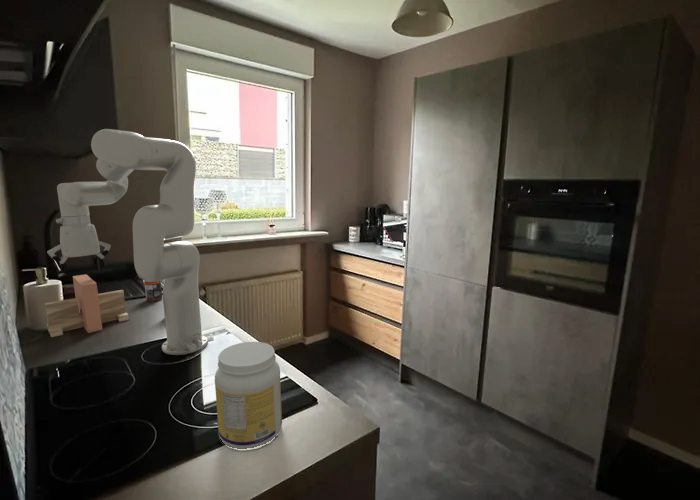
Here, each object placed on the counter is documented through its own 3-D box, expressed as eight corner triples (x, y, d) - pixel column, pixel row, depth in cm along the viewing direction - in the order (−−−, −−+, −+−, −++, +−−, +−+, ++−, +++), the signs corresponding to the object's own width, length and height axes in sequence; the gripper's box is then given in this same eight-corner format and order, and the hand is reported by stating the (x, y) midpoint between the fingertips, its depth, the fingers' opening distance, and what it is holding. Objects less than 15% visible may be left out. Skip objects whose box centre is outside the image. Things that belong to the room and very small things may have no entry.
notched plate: (102, 329, 126) (96, 283, 123) (88, 333, 123) (81, 285, 120) (91, 317, 137) (86, 274, 135) (78, 320, 135) (72, 276, 132)
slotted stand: (129, 319, 135) (126, 292, 133) (51, 337, 120) (46, 307, 118) (122, 314, 141) (119, 287, 139) (47, 330, 126) (43, 301, 124)
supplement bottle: (154, 297, 161) (151, 271, 159) (165, 298, 159) (163, 272, 157) (142, 301, 156) (140, 274, 153) (154, 302, 154) (151, 275, 152)
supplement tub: (237, 410, 82) (232, 337, 79) (291, 417, 80) (288, 341, 77) (205, 449, 70) (199, 365, 67) (268, 458, 68) (264, 371, 65)
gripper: (44, 224, 115) (53, 279, 118) (109, 219, 127) (116, 269, 130) (41, 222, 121) (49, 275, 124) (104, 218, 132) (110, 266, 135)
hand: (83, 272), depth 127 cm, fingers open, 9 cm apart
